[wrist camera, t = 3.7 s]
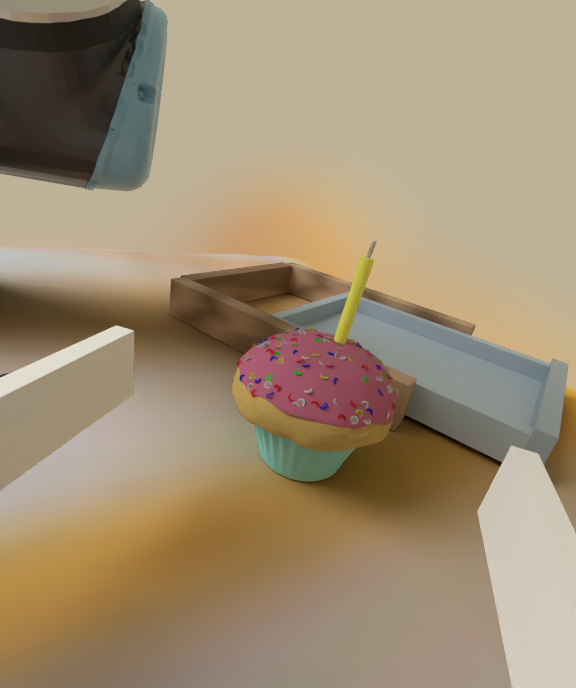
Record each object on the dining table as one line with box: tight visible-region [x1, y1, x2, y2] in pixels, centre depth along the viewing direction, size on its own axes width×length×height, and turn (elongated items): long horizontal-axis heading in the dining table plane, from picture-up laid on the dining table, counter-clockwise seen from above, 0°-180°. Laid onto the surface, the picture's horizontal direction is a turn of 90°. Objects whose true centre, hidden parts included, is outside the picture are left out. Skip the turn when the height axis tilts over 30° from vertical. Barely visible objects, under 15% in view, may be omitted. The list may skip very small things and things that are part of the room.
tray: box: [270, 292, 568, 464], centre depth 34 cm, size 22×15×3 cm
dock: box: [169, 263, 476, 431], centre depth 38 cm, size 24×19×4 cm
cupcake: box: [232, 241, 399, 482], centre depth 20 cm, size 9×8×12 cm
